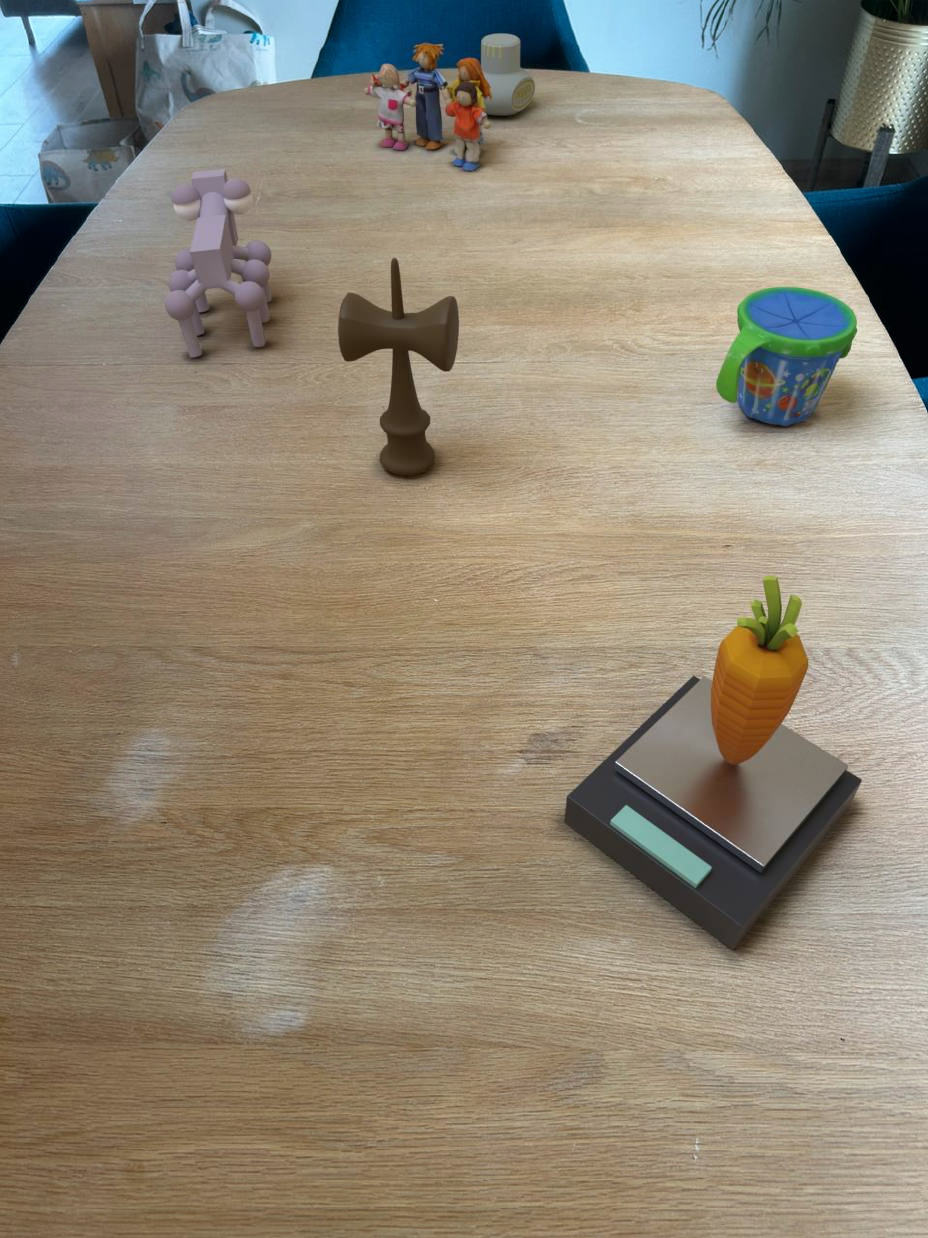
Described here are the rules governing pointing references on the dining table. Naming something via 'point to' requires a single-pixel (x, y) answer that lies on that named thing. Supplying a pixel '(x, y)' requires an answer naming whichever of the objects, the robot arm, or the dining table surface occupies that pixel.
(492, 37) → the air freshener
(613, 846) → the scale
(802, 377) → the snack cup
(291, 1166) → the dining table surface
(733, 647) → the carrot
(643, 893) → the dining table surface
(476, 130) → the doll family
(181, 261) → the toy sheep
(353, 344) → the kendama
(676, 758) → the scale pan
